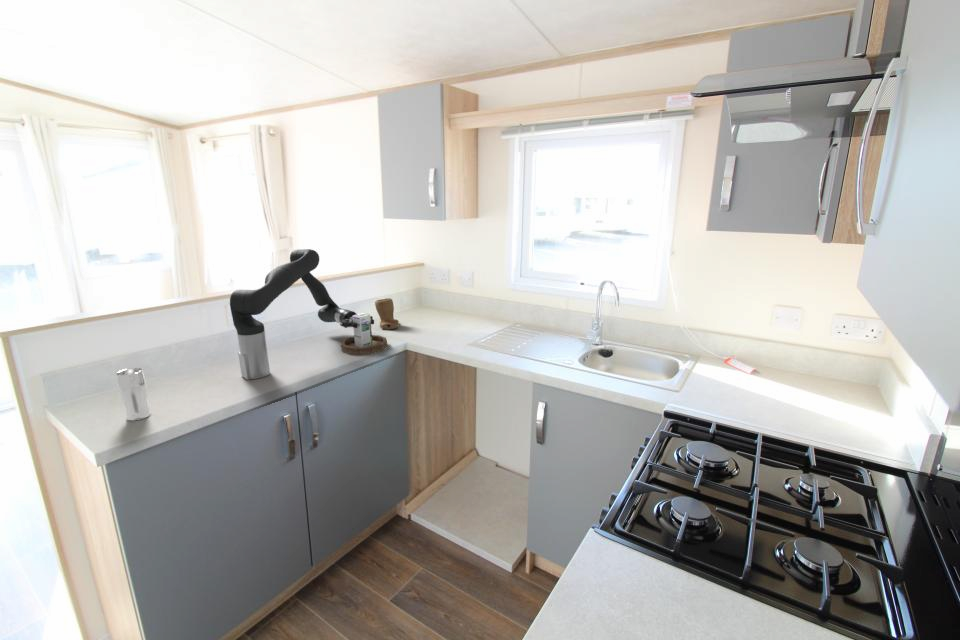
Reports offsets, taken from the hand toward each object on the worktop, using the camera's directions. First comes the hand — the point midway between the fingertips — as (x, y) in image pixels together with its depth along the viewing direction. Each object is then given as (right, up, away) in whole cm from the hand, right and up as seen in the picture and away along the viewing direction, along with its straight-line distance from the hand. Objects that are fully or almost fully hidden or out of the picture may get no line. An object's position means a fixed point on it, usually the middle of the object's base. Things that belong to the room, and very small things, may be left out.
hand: (365, 324), depth 202 cm
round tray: (-1, -11, +4) cm, 12 cm away
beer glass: (-55, -28, -61) cm, 87 cm away
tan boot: (+2, -2, +39) cm, 39 cm away
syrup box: (-2, -10, +4) cm, 11 cm away
